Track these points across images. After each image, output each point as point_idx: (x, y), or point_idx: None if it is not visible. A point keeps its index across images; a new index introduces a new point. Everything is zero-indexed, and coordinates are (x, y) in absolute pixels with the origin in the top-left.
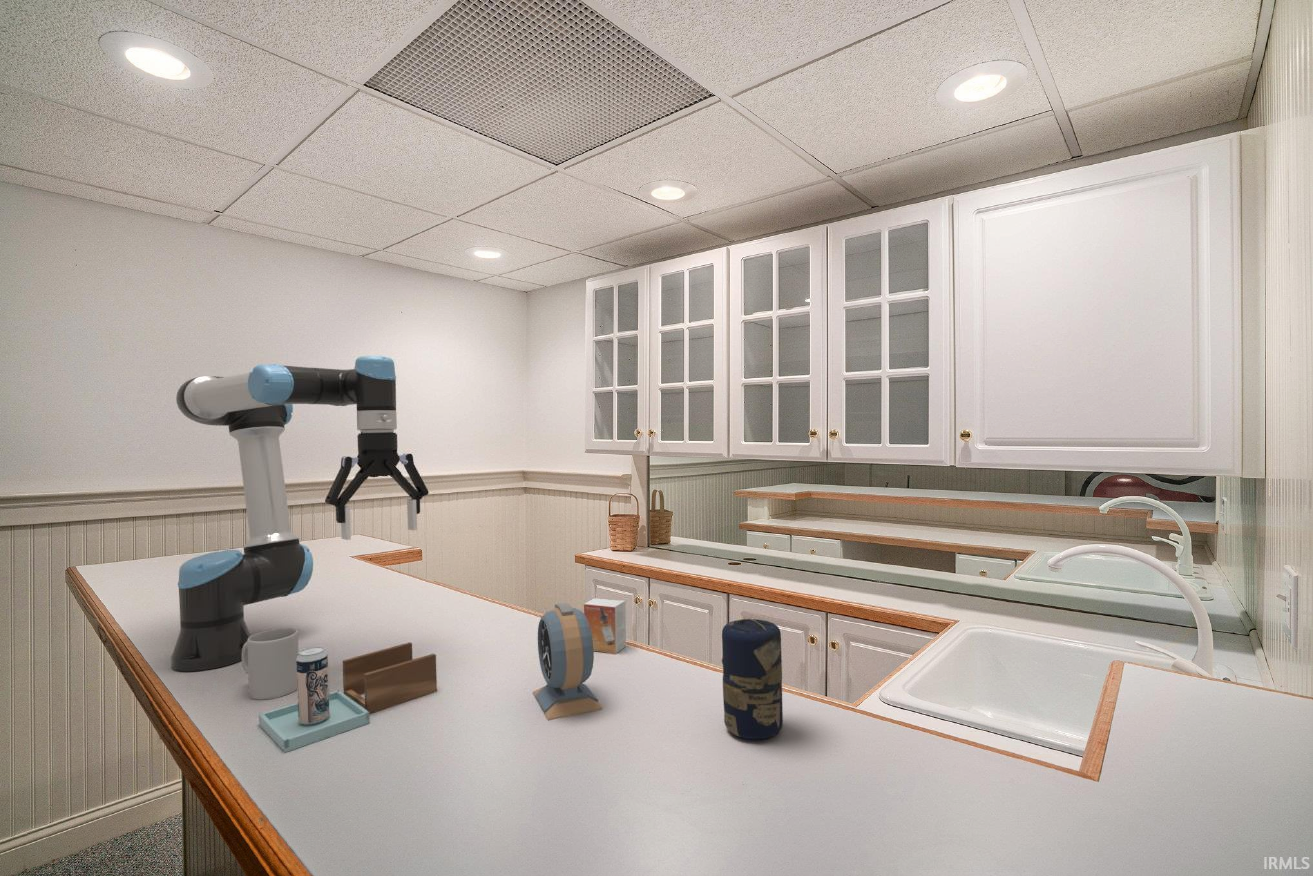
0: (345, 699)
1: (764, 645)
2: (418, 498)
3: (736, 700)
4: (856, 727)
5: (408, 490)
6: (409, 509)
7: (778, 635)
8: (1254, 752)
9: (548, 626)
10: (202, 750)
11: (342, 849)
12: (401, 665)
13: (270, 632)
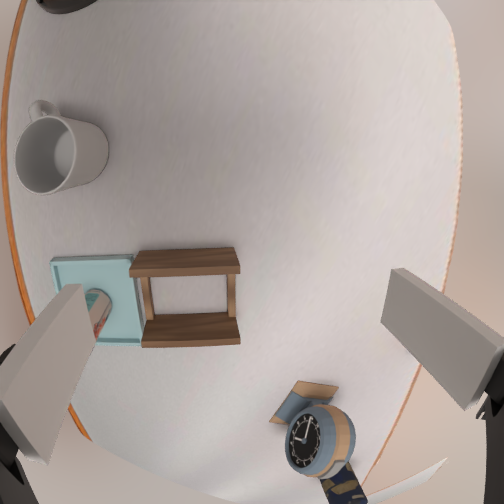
0: (131, 291)
1: None
2: (478, 416)
3: (323, 487)
4: (356, 473)
5: (490, 450)
6: (447, 342)
7: None
8: (386, 497)
9: (301, 471)
10: (17, 276)
11: (108, 444)
12: (189, 346)
13: (49, 118)
